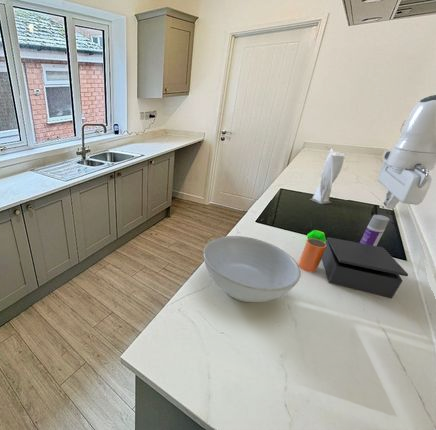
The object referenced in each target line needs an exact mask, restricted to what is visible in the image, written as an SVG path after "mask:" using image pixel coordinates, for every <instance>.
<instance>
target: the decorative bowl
mask: <svg viewBox="0 0 436 430" xmlns="http://www.w3.org/2000/svg"><path fill="white" fill-rule="evenodd" d="M203 261H204V265H205V268H206V271H207V273H208V275H209V276H210V278H211V280H212V281H213V282H214V283H215V285H216V286H217V287H218V288H219V289H221V290H222V291H223V292H224V293H226V295H228V296H229V297H231V298H232V299H234V300H237V301H240V302H243V303H261V302H269V301H272V300H275V299H278V298H280V297H282V296H284V295H285V294H287V293H289V292H290V291H291V290H293V288H294V287H295V286H296V285H297V284H298V283H299V281H300V279H301V276H302V272H301V268H300V267H299V266H298V262H297V261H296V260H295V259H294V258H293V257H292V256H291V255H290V254H289V253H288V252H287V251H285V250H283V249H281V248H280V247H278V246H276V245H275V244H272V243H269V242H267V241H264V240H262V239H258V238H254V237H248V236H241V235H227V236H220V237H217V238H214V239H212V240H209V242H207V244H206V245H205V246H204V248H203Z"/></svg>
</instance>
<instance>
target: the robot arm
mask: <svg viewBox="0 0 436 430" xmlns="http://www.w3.org/2000/svg"><path fill="white" fill-rule="evenodd" d="M411 110H412V111H411V112H410V113H409V115H408V117H407V118H406V120H405V122H404V124H403V127H402V129H401V134H400V137H399V140H398V141H397V142H396V143H395V144H394V146H393V148H392V149H390V150H386V151H385V153H384V154H383V162H382V164H381V166H380V168H379V171H378V174H377V182H379V184H381V185H382V186H383V187H384V188H385V189H386V191H385V196H384V200H383V202H382V204H383V205H384V206H385V207H386V208H387V209H392V210H393V209H395V208H396V207H397V204H399V203H402V204H406V205H415V206H419V205H420V204H422V203H423V201H424V199H425V198H426V195H427V193H428V192H429V189H430V187H431V183H432V176H431V175H430V174H429V172H430V171H432V170H434V168H435V166H436V94H434V95H430V96H426V97H424V98H422V99H420V100H419V101H418V102H417V103H416V104H415V106H414V107H413V109H411Z"/></svg>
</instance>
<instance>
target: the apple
mask: <svg viewBox="0 0 436 430" xmlns="http://www.w3.org/2000/svg"><path fill="white" fill-rule="evenodd" d="M306 238H307V240H308V239H317V240H320V241H323V242H324V243H325V242H326V240H327V238H326V234H325V232H324V231H321V230H317V229H313V230H311V231H310V232H309V233H307V235H306Z"/></svg>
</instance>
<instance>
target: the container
mask: <svg viewBox="0 0 436 430" xmlns="http://www.w3.org/2000/svg"><path fill="white" fill-rule="evenodd" d="M389 222H390V218H389V217H388V216H385V215H382V214H373V215H372V216H371V219H370V221H369V223H368V224H367V226H366V228H365V231H364V233H363V235H362V237H361V239H360V241H359V243H362V244H368V245H373V246H378V244H379V242H380V240H381V238H382V236H383V234H384V232H385V230H386V228H387V225H388V223H389Z"/></svg>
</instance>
